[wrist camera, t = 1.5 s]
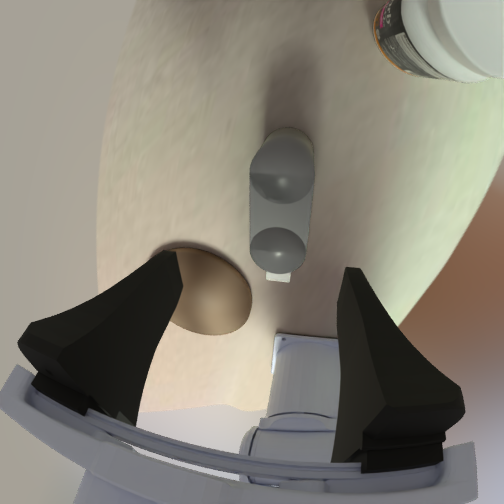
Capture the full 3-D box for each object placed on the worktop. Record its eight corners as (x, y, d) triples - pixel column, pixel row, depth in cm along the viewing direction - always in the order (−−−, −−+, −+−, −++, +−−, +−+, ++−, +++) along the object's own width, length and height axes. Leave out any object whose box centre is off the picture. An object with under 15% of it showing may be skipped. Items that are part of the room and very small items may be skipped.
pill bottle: (396, -12, 10) (458, -63, 2) (460, 43, 11) (551, 42, 3) (354, 39, 14) (398, 6, 6) (421, 94, 15) (505, 119, 7)
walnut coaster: (252, 254, 25) (250, 260, 24) (252, 336, 31) (250, 342, 30) (138, 242, 26) (134, 246, 26) (160, 320, 33) (157, 325, 32)
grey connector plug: (263, 126, 18) (249, 141, 14) (315, 129, 18) (317, 146, 14) (261, 256, 25) (249, 296, 21) (302, 260, 24) (299, 302, 20)
